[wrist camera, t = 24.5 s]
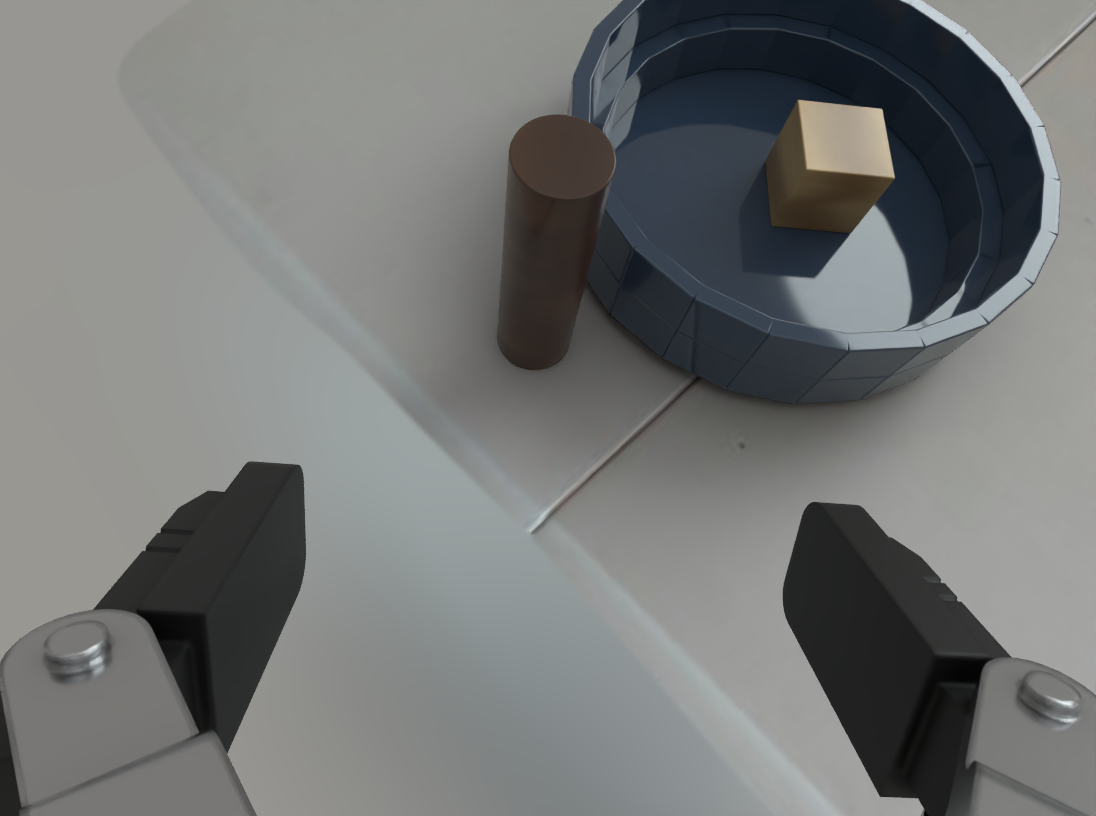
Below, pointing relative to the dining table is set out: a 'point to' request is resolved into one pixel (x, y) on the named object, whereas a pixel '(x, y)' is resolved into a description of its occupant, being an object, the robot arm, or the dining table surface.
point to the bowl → (800, 254)
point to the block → (828, 166)
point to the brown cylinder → (550, 234)
